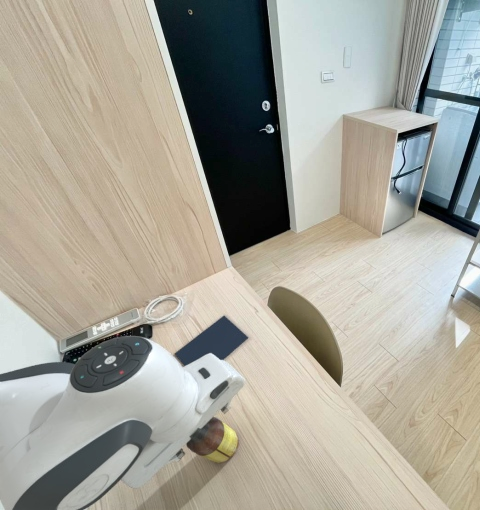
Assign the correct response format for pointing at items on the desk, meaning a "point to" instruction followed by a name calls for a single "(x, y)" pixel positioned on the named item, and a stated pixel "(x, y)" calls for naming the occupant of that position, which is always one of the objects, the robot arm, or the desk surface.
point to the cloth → (213, 342)
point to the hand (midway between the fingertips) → (204, 430)
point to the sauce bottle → (214, 441)
